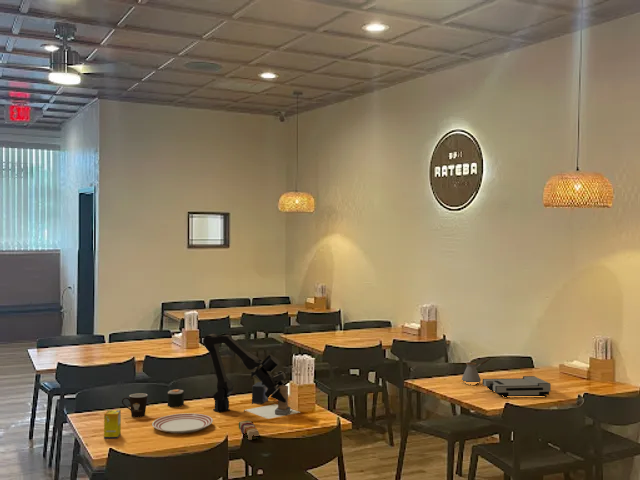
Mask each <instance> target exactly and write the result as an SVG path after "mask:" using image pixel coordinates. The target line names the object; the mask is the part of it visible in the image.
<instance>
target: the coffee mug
mask: <svg viewBox="0 0 640 480" xmlns="http://www.w3.org/2000/svg"><path fill="white" fill-rule="evenodd" d="M124 400H128V401H129V406H130V407H129V406H127V405H126V404H125V402H124ZM121 404H122V405H123V406H124V407H125V408H126V409H127V410H130V413H131V418H142V417H145V416H146V409H147V404H148V394H147V393H142V392H141V393H139V392H138V393H132V394H129V397H124V398H122V400H121Z"/></svg>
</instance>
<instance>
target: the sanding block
mask: <svg viewBox="0 0 640 480" xmlns="http://www.w3.org/2000/svg"><path fill="white" fill-rule="evenodd" d="M279 388H280V393H281V394H282V396H283V397H284V399H285V400H286V402H285V403H284V402H281V401H279V400H277V405H278V408H277V409H276V410H275V414H279V415H285V416H288V415H287V414H288V413H289V412H290V409H291V407H290V406H289V385H284V386H283V384H282V385H280V386H279V387H278V389H279Z"/></svg>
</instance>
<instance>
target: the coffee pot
mask: <svg viewBox="0 0 640 480" xmlns="http://www.w3.org/2000/svg"><path fill="white" fill-rule="evenodd" d="M489 361H493V360H492V358H491V357H490V358H488V359H486V360H484V361H482V362H480V363H479V364H477V362H472V361H471V362H470V361H469V362H465V364H466V368H465V370H464V372H463V375H462V377H461V381H462V380H463V381H466V382H479V383H480V382H481V381H482V380H481V377H480V375H479V372H478V369H477V368H479V367H481V366H482V365H484V364H486V363H487V362H489ZM463 381H462V382H463Z"/></svg>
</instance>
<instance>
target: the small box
mask: <svg viewBox="0 0 640 480" xmlns="http://www.w3.org/2000/svg"><path fill="white" fill-rule="evenodd" d="M251 389H252V390H251V405H253V404H257V405H258V404H260V405H263V404H265V403H266V402H268V401H269V397H268V398H267V397H266V396H265V392H266V391H267V390H268V389H267V388H266V387H265V385H262V382H261V381H257V382H255V384H253V385H252V387H251Z"/></svg>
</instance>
